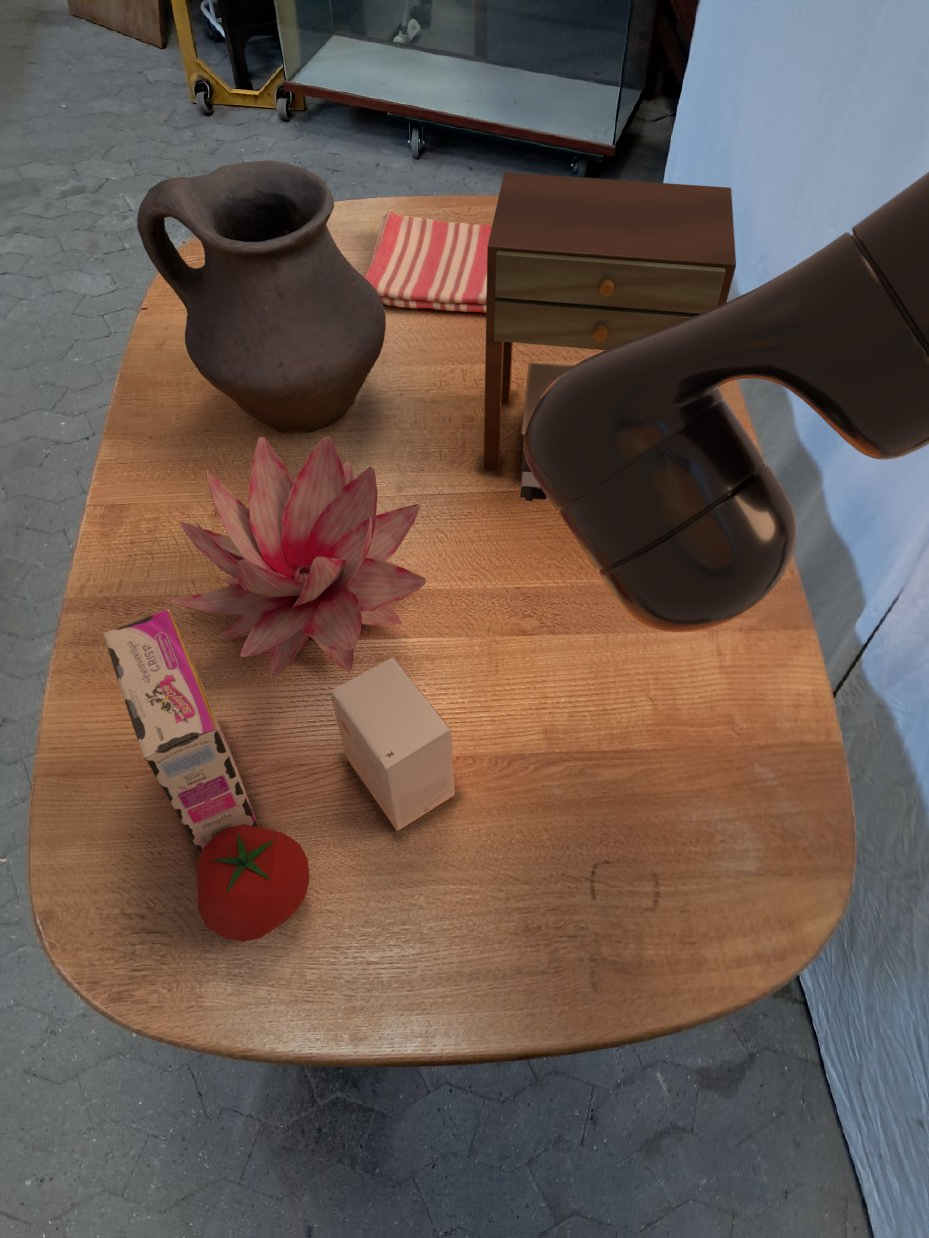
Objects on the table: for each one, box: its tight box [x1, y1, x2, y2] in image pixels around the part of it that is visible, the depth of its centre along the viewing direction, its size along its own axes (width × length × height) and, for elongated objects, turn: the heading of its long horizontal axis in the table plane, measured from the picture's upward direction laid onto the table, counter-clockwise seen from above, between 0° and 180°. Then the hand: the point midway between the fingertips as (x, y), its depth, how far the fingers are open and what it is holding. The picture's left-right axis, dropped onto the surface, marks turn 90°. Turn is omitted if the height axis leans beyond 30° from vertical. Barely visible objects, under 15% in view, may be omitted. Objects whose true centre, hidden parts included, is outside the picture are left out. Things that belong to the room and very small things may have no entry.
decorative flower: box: [170, 435, 427, 679], centre depth 77 cm, size 21×21×15 cm
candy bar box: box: [103, 609, 260, 855], centre depth 66 cm, size 11×5×16 cm, turn 27°
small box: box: [329, 656, 456, 832], centre depth 69 cm, size 8×6×10 cm
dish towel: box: [363, 210, 492, 314], centre depth 113 cm, size 17×23×4 cm
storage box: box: [520, 361, 575, 479], centre depth 93 cm, size 10×10×7 cm
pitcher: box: [136, 160, 387, 434], centre depth 90 cm, size 21×22×25 cm
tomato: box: [196, 824, 310, 943], centre depth 64 cm, size 8×8×7 cm
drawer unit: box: [483, 171, 737, 471], centre depth 86 cm, size 13×20×25 cm
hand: (611, 488), depth 66 cm, fingers closed
